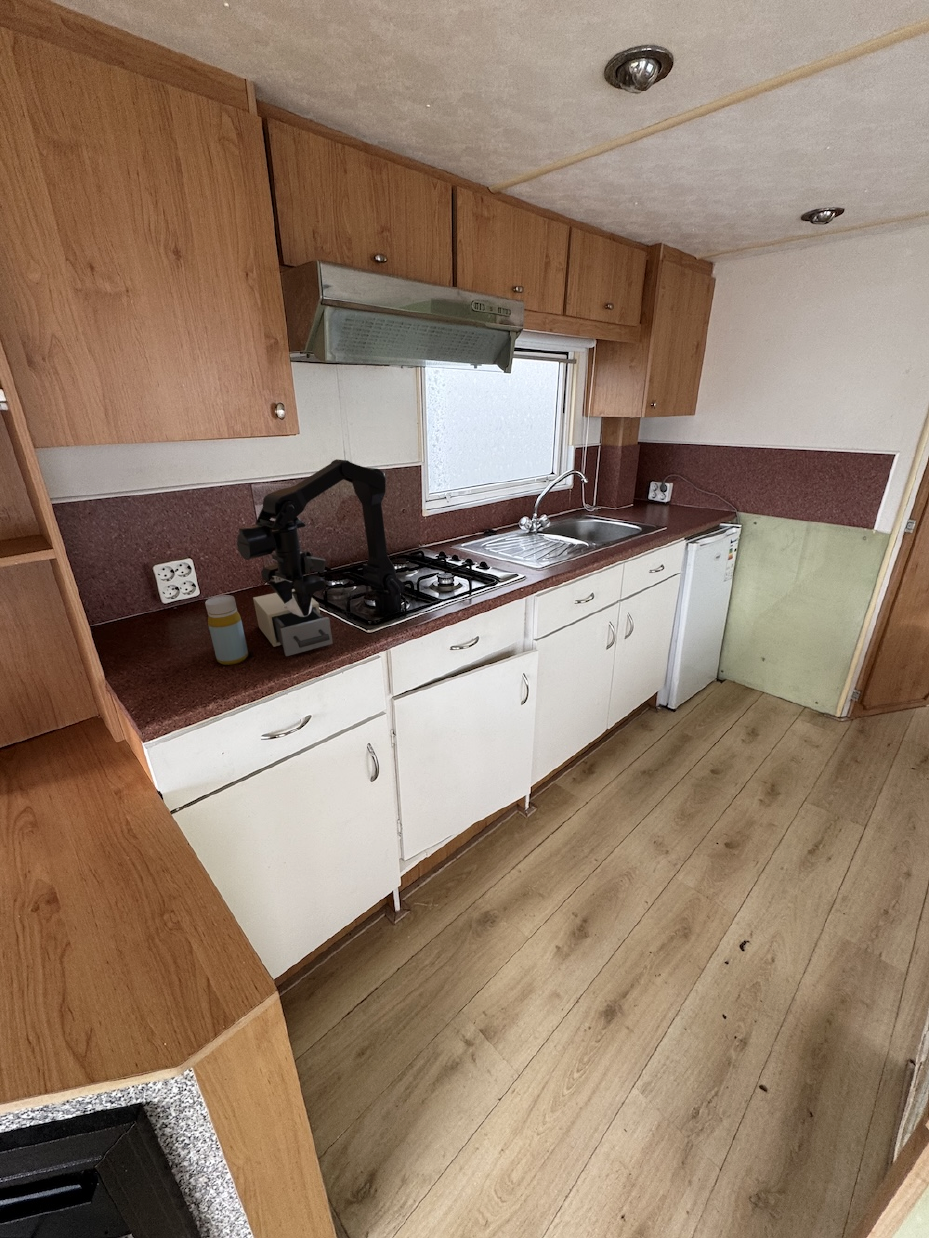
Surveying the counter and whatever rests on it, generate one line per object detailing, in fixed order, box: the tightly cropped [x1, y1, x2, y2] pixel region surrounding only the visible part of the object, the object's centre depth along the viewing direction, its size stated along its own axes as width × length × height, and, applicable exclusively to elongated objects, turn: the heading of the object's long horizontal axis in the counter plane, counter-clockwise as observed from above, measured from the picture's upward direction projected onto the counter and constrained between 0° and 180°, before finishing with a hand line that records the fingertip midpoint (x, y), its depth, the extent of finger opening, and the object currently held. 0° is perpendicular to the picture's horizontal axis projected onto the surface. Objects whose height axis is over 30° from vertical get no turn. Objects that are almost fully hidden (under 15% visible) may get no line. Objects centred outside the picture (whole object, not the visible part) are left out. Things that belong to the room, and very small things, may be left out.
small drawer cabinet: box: [252, 588, 321, 648], centre depth 139 cm, size 15×13×9 cm
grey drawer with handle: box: [272, 608, 333, 657], centre depth 130 cm, size 19×11×7 cm, turn 33°
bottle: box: [204, 594, 249, 666], centre depth 124 cm, size 7×7×15 cm
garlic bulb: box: [283, 598, 312, 617], centre depth 129 cm, size 6×6×5 cm
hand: (298, 611), depth 129 cm, fingers closed on garlic bulb, 6 cm apart
